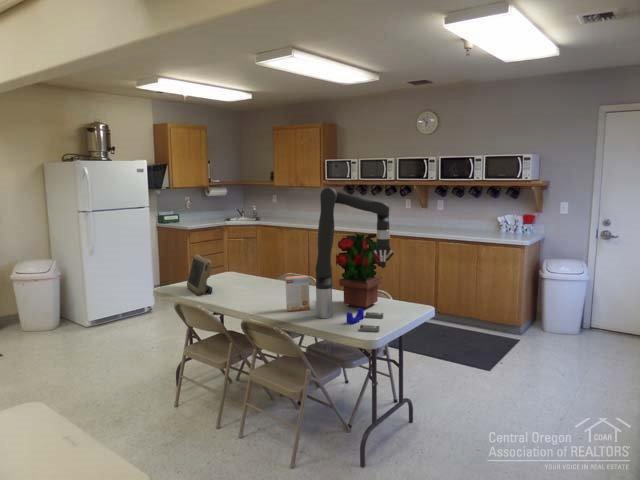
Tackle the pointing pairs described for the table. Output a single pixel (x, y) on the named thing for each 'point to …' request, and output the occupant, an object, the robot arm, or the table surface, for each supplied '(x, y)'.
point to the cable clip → (357, 318)
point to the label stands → (368, 327)
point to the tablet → (199, 275)
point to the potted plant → (359, 270)
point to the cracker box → (297, 293)
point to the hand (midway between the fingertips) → (383, 267)
